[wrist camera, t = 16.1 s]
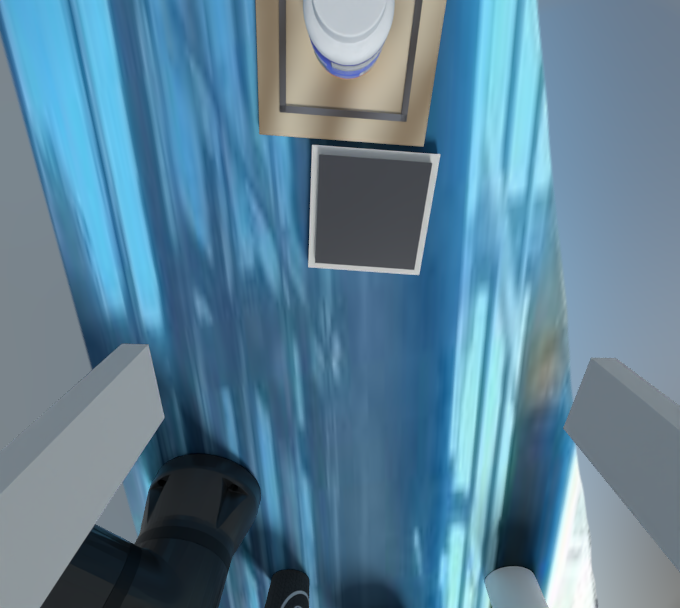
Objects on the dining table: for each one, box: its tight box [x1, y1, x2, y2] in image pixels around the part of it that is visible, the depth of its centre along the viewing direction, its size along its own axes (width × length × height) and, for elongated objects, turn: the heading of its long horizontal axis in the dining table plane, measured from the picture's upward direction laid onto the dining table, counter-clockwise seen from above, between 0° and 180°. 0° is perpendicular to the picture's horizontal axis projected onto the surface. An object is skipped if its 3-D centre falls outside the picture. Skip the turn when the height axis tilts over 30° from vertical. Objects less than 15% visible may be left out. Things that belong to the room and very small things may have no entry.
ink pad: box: [308, 145, 440, 275], centre depth 32 cm, size 11×11×2 cm
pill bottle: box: [303, 0, 395, 80], centre depth 22 cm, size 5×5×10 cm
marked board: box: [256, 0, 446, 147], centre depth 26 cm, size 14×14×1 cm
